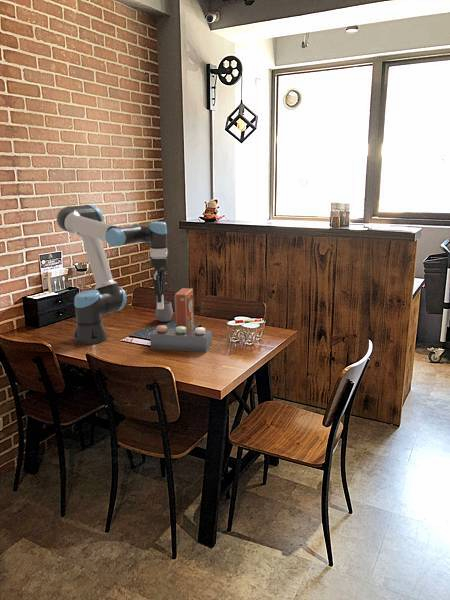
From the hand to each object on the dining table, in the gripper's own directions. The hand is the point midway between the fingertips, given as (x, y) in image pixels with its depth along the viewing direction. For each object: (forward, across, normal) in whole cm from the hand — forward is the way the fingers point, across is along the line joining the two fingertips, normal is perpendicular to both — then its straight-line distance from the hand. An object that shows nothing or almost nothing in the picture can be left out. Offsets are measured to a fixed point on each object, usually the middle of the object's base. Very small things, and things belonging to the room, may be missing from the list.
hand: (160, 308), depth 227 cm
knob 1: (+17, 0, -1) cm, 17 cm away
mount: (+18, 0, -10) cm, 20 cm away
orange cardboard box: (+18, +20, -6) cm, 27 cm away
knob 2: (+16, 0, -19) cm, 25 cm away
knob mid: (+17, 0, -10) cm, 19 cm away
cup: (+18, +39, +11) cm, 44 cm away
